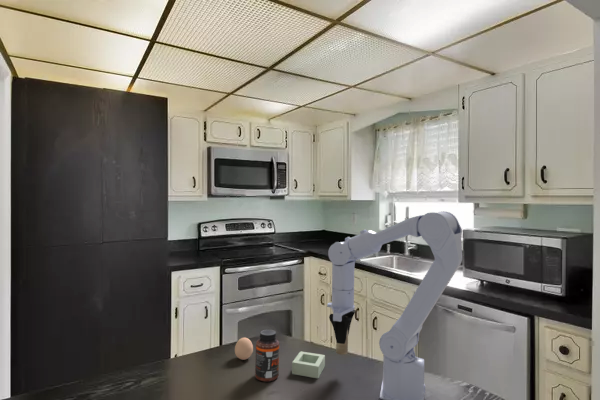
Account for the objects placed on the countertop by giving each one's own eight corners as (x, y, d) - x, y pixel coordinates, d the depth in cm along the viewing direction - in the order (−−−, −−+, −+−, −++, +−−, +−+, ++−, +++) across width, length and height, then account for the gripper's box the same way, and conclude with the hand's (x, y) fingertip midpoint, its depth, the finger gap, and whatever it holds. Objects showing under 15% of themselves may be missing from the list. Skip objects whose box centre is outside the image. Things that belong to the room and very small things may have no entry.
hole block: (324, 366, 96) (325, 355, 96) (318, 378, 89) (318, 366, 89) (300, 362, 98) (300, 351, 98) (292, 373, 91) (292, 362, 91)
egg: (235, 355, 102) (235, 334, 102) (253, 354, 102) (253, 334, 102) (233, 363, 97) (234, 341, 97) (252, 362, 97) (253, 341, 97)
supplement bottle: (275, 384, 86) (276, 337, 86) (251, 381, 87) (252, 335, 87) (281, 372, 92) (282, 329, 92) (259, 369, 93) (260, 326, 93)
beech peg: (348, 350, 93) (349, 316, 93) (346, 355, 90) (347, 320, 90) (337, 349, 94) (337, 315, 94) (334, 353, 91) (335, 318, 91)
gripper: (333, 280, 100) (333, 328, 100) (321, 293, 86) (320, 349, 86) (358, 282, 98) (358, 332, 98) (350, 296, 84) (349, 353, 84)
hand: (342, 340), depth 92 cm, fingers closed on beech peg, 3 cm apart
